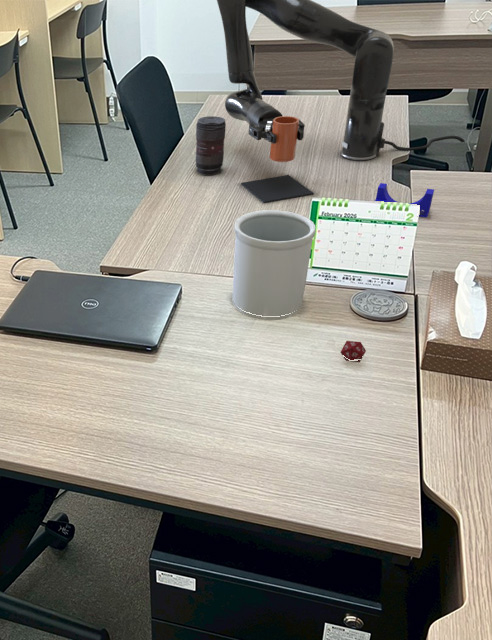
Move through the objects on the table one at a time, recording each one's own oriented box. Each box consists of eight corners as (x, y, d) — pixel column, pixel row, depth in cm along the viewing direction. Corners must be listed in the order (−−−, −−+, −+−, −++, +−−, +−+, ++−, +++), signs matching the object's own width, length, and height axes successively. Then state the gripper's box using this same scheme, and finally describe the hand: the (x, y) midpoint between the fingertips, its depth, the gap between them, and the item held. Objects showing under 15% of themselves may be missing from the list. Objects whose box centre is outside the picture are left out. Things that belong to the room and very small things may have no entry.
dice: (335, 355, 128) (338, 337, 126) (360, 353, 128) (364, 335, 126) (342, 367, 125) (345, 349, 123) (368, 366, 125) (371, 347, 122)
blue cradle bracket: (372, 212, 174) (376, 189, 171) (376, 205, 177) (380, 183, 174) (425, 220, 168) (431, 196, 165) (429, 212, 171) (434, 189, 168)
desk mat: (288, 176, 197) (288, 174, 197) (313, 194, 186) (313, 192, 186) (241, 184, 196) (241, 182, 195) (263, 203, 184) (264, 201, 184)
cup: (287, 151, 189) (291, 114, 183) (299, 159, 184) (303, 121, 178) (265, 155, 188) (268, 118, 183) (276, 163, 183) (280, 125, 178)
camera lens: (225, 174, 202) (228, 123, 194) (197, 177, 203) (198, 125, 194) (220, 164, 209) (223, 114, 201) (193, 167, 209) (194, 116, 201)
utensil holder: (254, 277, 153) (261, 202, 144) (318, 298, 144) (330, 220, 134) (215, 306, 145) (219, 229, 136) (280, 330, 136) (289, 249, 126)
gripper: (239, 108, 192) (262, 127, 178) (291, 102, 193) (317, 120, 179) (237, 135, 196) (259, 155, 183) (288, 129, 197) (313, 149, 183)
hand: (288, 138), depth 181 cm, fingers closed on cup, 6 cm apart
